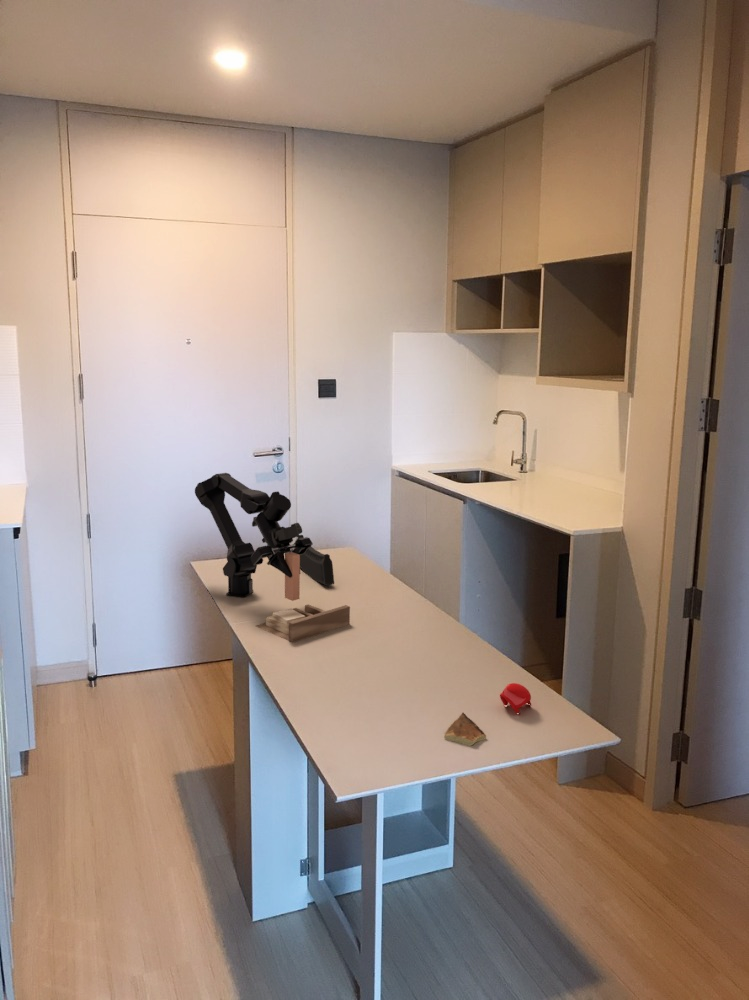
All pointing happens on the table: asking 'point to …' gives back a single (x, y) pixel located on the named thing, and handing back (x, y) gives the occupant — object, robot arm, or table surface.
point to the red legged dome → (515, 696)
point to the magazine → (317, 565)
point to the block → (294, 582)
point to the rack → (305, 622)
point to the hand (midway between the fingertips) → (295, 575)
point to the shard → (464, 731)
